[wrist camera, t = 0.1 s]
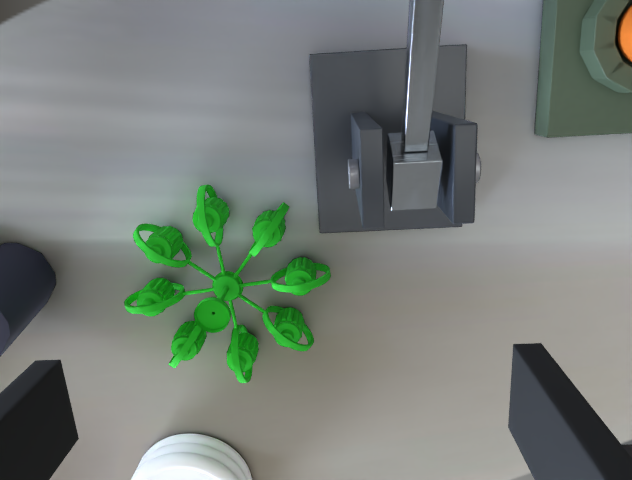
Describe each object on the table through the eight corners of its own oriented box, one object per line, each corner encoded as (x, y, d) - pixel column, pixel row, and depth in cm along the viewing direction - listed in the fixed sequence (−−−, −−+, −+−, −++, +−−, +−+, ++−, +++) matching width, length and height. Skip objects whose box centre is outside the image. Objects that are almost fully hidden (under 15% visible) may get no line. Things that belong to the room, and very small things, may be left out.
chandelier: (111, 195, 37) (62, 220, 31) (314, 163, 36) (309, 181, 30) (162, 375, 42) (129, 430, 35) (345, 351, 40) (347, 404, 34)
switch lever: (354, -99, 17) (358, -80, 16) (503, -111, 17) (523, -93, 16) (358, 180, 26) (360, 212, 24) (457, 175, 26) (467, 207, 24)
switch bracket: (310, 55, 34) (294, 37, 21) (462, 45, 34) (545, 21, 20) (320, 228, 38) (312, 308, 24) (458, 222, 37) (526, 299, 24)
